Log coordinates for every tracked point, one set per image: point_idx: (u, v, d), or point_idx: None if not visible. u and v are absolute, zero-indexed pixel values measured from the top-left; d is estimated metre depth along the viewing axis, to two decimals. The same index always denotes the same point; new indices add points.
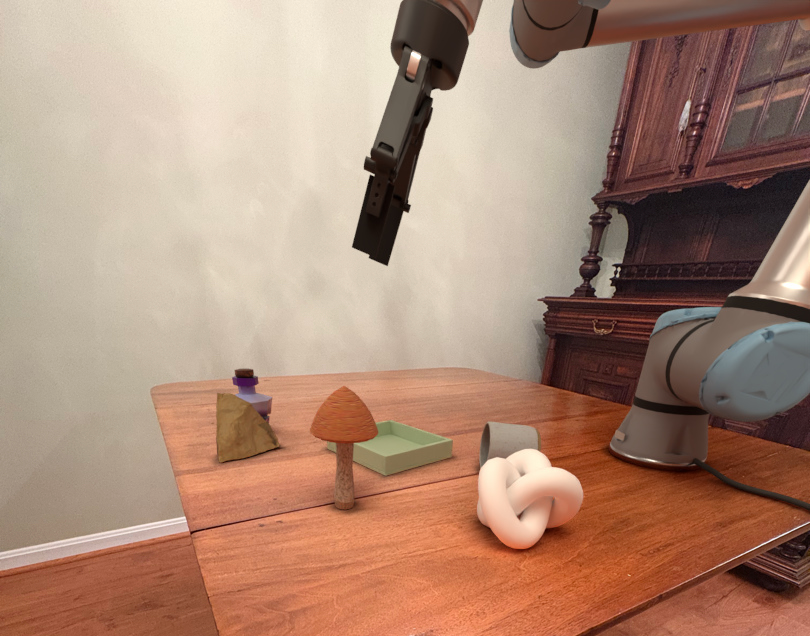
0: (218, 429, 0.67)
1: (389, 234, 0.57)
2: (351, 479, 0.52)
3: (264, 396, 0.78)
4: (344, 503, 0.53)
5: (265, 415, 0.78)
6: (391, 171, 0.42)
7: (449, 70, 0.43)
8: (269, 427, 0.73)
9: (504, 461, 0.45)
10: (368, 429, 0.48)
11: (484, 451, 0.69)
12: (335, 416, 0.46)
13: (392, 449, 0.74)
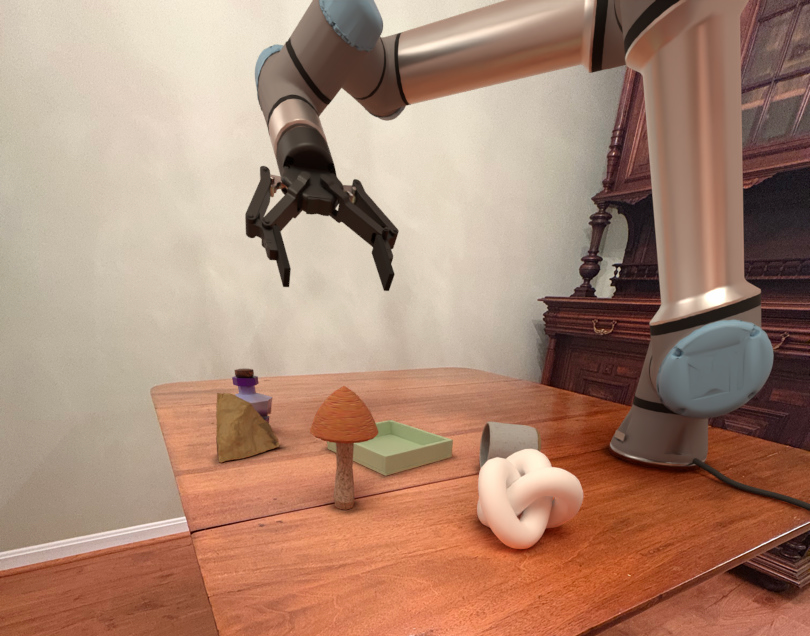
0: (218, 429, 0.67)
1: (380, 258, 0.57)
2: (351, 479, 0.52)
3: (264, 396, 0.78)
4: (344, 503, 0.53)
5: (265, 415, 0.78)
6: (261, 223, 0.52)
7: (294, 149, 0.55)
8: (269, 427, 0.73)
9: (504, 461, 0.45)
10: (368, 429, 0.48)
11: (484, 451, 0.69)
12: (335, 416, 0.46)
13: (392, 449, 0.74)
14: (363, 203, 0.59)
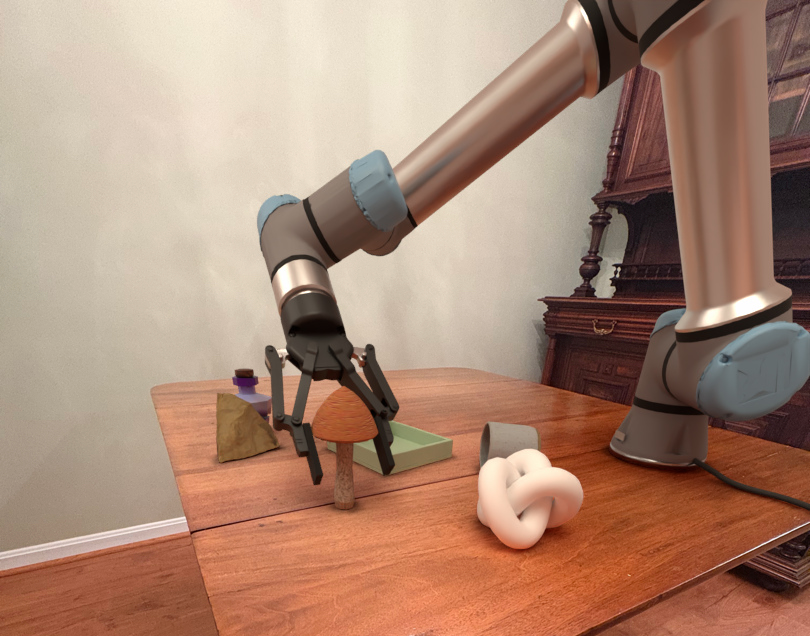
0: (218, 429, 0.67)
1: (379, 443, 0.51)
2: (351, 479, 0.52)
3: (264, 396, 0.78)
4: (344, 503, 0.53)
5: (265, 415, 0.78)
6: (291, 422, 0.48)
7: (300, 319, 0.50)
8: (269, 427, 0.73)
9: (504, 461, 0.45)
10: (368, 429, 0.48)
11: (484, 451, 0.69)
12: (335, 416, 0.46)
13: (392, 449, 0.74)
14: (370, 370, 0.53)
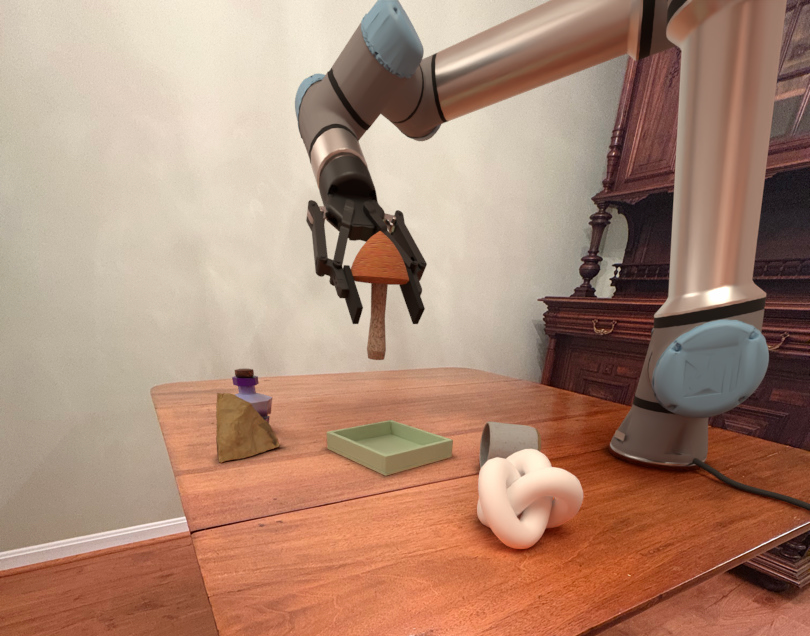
0: (218, 429, 0.67)
1: (410, 292, 0.57)
2: (383, 328, 0.58)
3: (264, 396, 0.78)
4: (377, 352, 0.59)
5: (265, 415, 0.78)
6: (333, 264, 0.54)
7: (339, 178, 0.56)
8: (269, 427, 0.73)
9: (504, 461, 0.45)
10: (402, 271, 0.54)
11: (484, 451, 0.69)
12: (373, 254, 0.52)
13: (392, 449, 0.74)
14: (399, 233, 0.59)
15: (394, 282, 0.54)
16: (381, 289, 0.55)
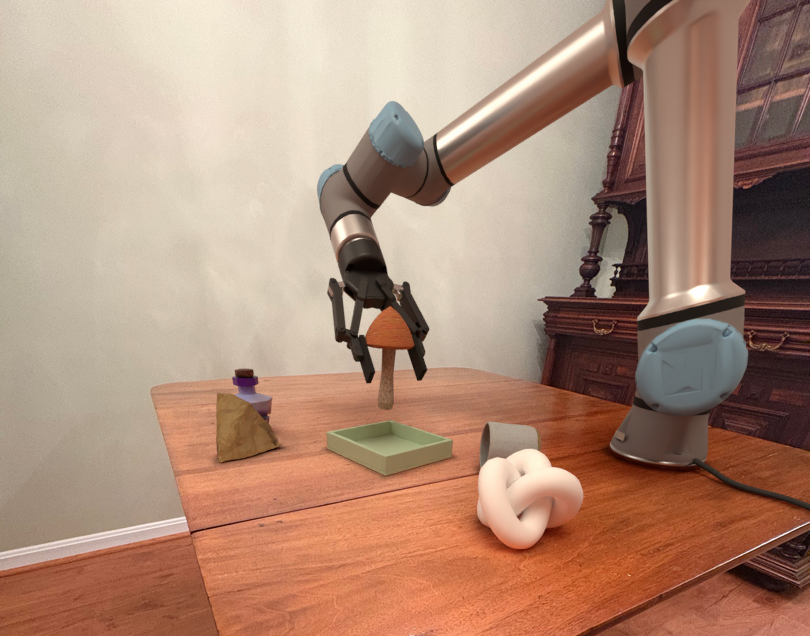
0: (218, 429, 0.67)
1: (414, 354, 0.67)
2: (392, 384, 0.68)
3: (264, 396, 0.78)
4: (386, 403, 0.69)
5: (265, 415, 0.78)
6: (350, 334, 0.64)
7: (355, 258, 0.65)
8: (269, 427, 0.73)
9: (504, 461, 0.45)
10: (408, 339, 0.63)
11: (484, 451, 0.69)
12: (384, 327, 0.62)
13: (392, 449, 0.74)
14: (406, 301, 0.69)
15: (401, 349, 0.64)
16: (390, 353, 0.65)
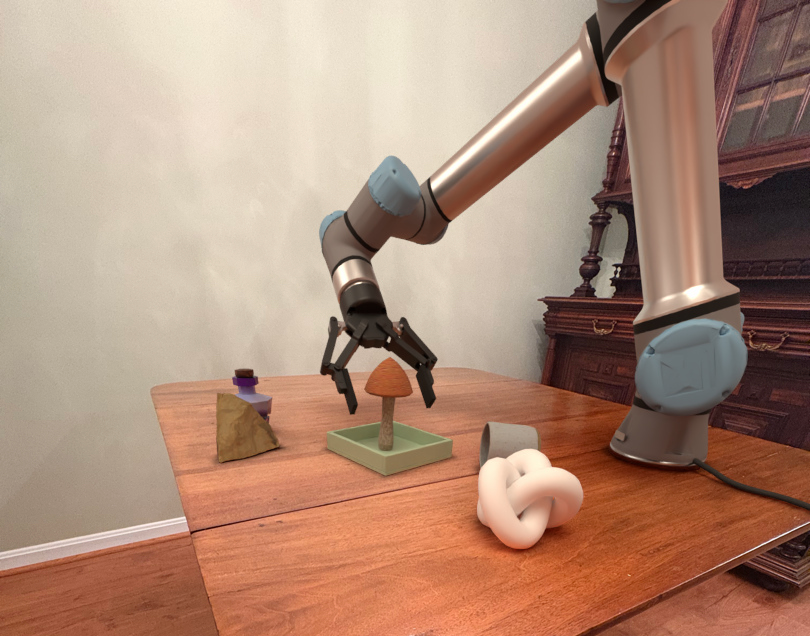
0: (218, 429, 0.67)
1: (424, 384, 0.71)
2: (392, 427, 0.72)
3: (264, 396, 0.78)
4: (386, 445, 0.72)
5: (265, 415, 0.78)
6: (333, 366, 0.66)
7: (356, 302, 0.69)
8: (269, 427, 0.73)
9: (504, 461, 0.45)
10: (407, 388, 0.67)
11: (484, 451, 0.69)
12: (384, 377, 0.65)
13: (392, 449, 0.74)
14: (409, 336, 0.73)
15: None
16: (390, 400, 0.69)
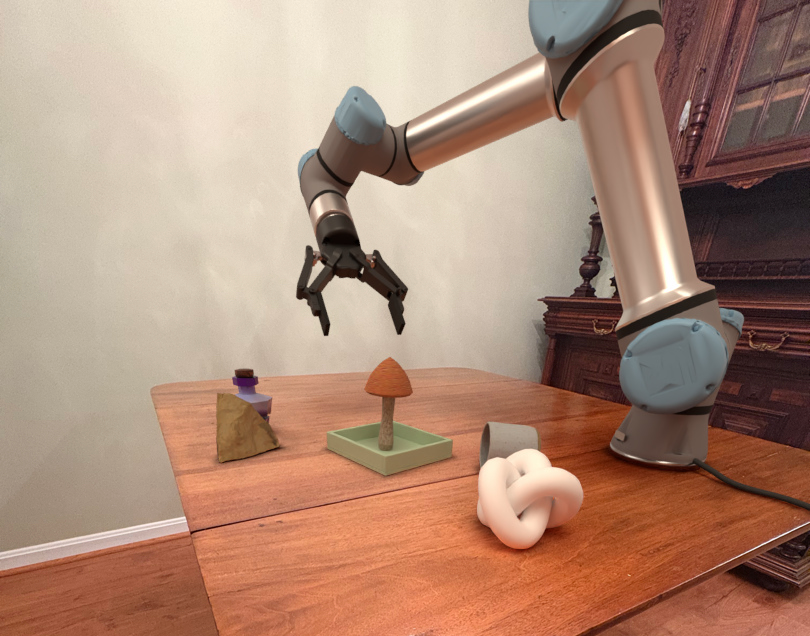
0: (218, 429, 0.67)
1: (394, 311, 0.76)
2: (392, 427, 0.72)
3: (264, 396, 0.78)
4: (386, 445, 0.72)
5: (265, 415, 0.78)
6: (308, 290, 0.71)
7: (330, 232, 0.73)
8: (269, 427, 0.73)
9: (504, 461, 0.45)
10: (407, 388, 0.67)
11: (484, 451, 0.69)
12: (384, 377, 0.65)
13: (392, 449, 0.74)
14: (381, 268, 0.78)
15: None
16: (390, 400, 0.69)
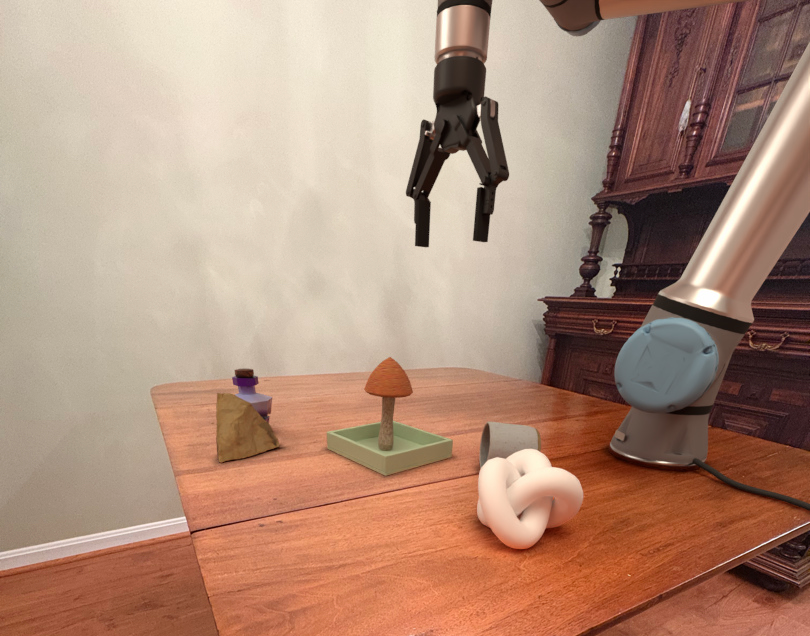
0: (218, 429, 0.67)
1: None
2: (392, 427, 0.72)
3: (264, 396, 0.78)
4: (386, 445, 0.72)
5: (265, 415, 0.78)
6: None
7: (433, 98, 0.63)
8: (269, 427, 0.73)
9: (504, 461, 0.45)
10: (407, 388, 0.67)
11: (484, 451, 0.69)
12: (384, 377, 0.65)
13: (392, 449, 0.74)
14: None
15: None
16: (390, 400, 0.69)
